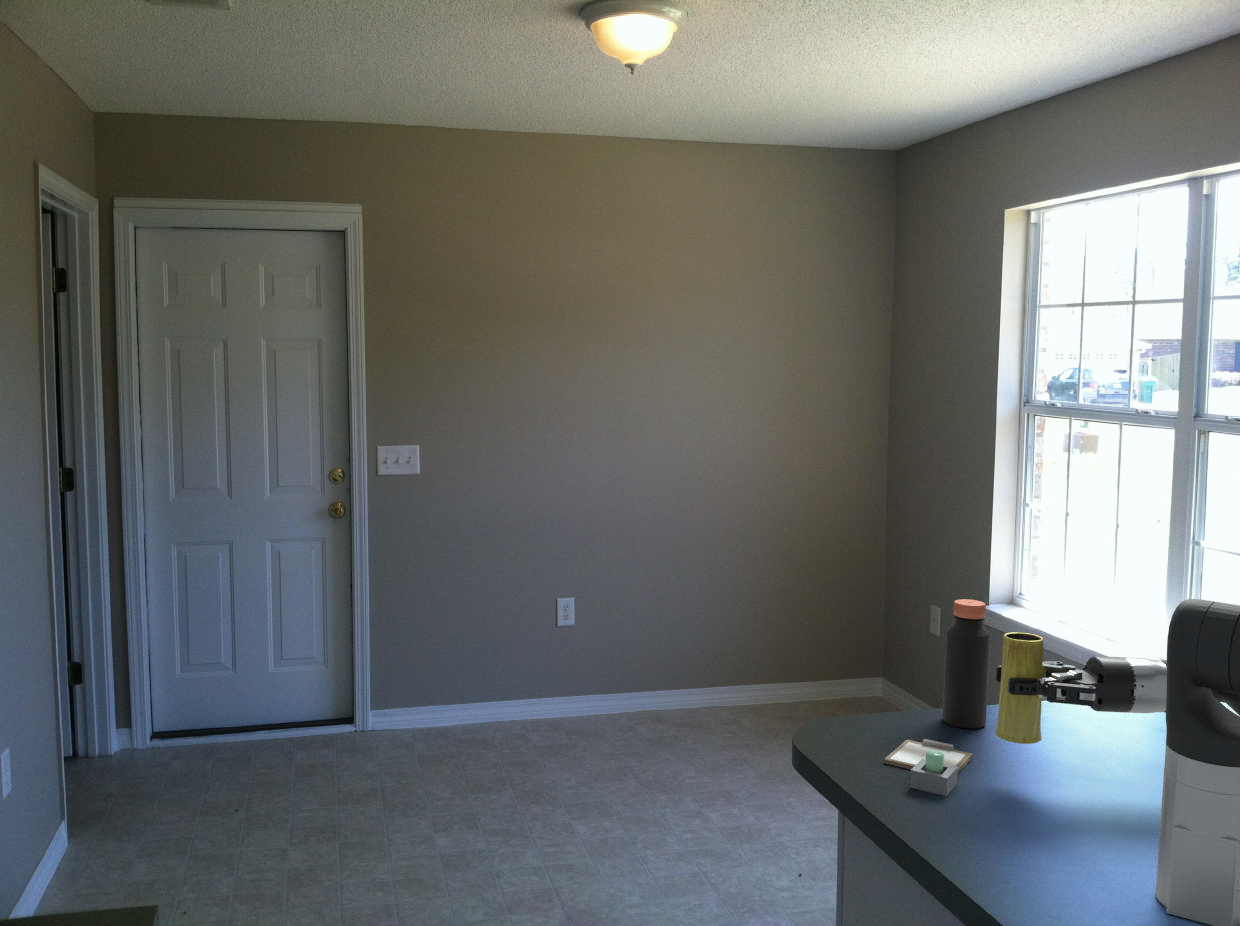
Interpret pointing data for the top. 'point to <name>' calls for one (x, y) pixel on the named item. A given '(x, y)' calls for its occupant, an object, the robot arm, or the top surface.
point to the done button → (934, 762)
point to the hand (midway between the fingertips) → (1002, 679)
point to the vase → (1020, 711)
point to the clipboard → (916, 751)
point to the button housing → (933, 779)
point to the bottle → (966, 666)
